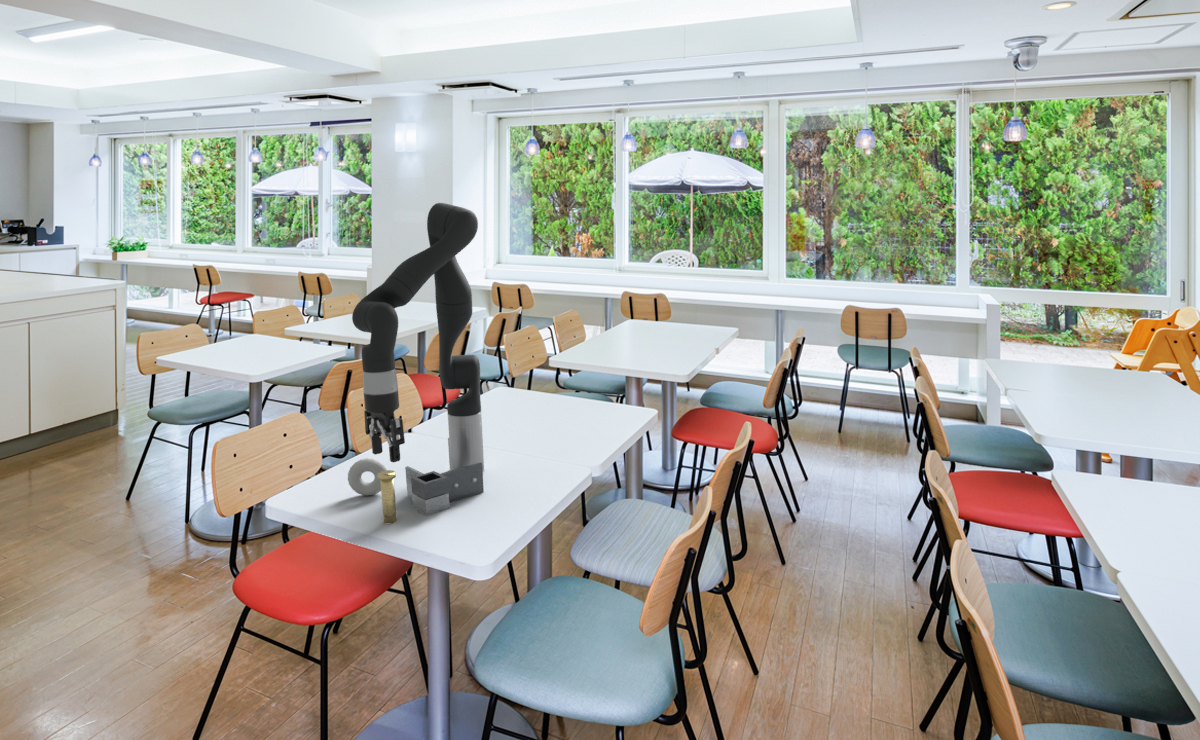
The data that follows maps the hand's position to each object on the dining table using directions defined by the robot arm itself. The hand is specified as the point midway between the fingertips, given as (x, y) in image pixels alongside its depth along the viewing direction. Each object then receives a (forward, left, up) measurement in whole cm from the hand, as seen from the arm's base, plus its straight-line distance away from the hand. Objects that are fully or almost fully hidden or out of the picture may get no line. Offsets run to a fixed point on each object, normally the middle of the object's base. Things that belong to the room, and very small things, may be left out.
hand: (386, 457), depth 166 cm
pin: (0, 0, -16) cm, 16 cm away
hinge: (-4, +17, -16) cm, 24 cm away
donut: (-19, +4, -16) cm, 25 cm away
